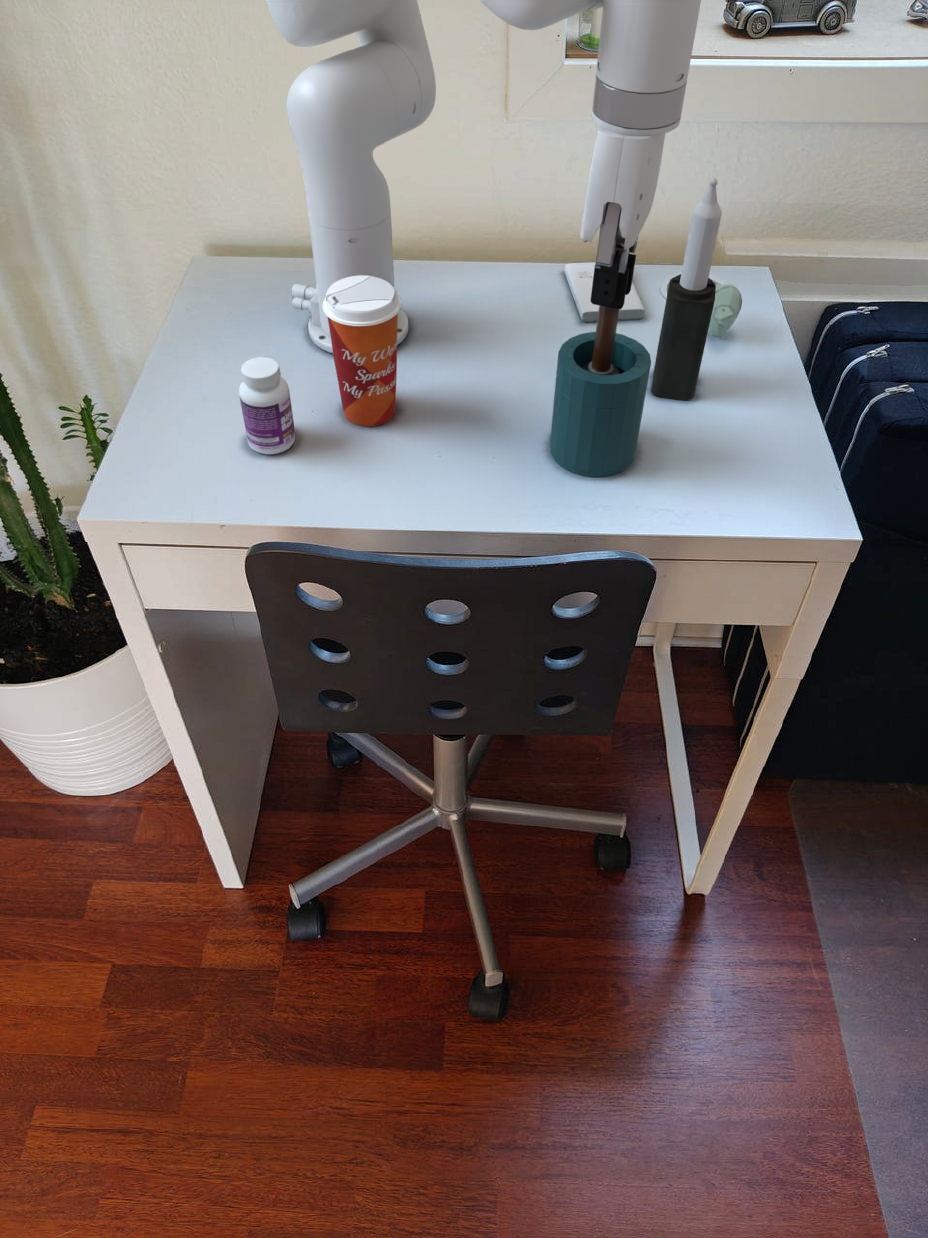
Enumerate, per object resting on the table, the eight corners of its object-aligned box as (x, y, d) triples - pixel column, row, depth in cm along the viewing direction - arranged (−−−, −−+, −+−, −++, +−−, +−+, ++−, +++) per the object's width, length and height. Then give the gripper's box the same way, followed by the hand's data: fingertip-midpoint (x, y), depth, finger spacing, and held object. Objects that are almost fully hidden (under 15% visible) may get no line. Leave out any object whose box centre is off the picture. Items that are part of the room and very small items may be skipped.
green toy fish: (695, 317, 129) (705, 269, 124) (726, 317, 130) (737, 269, 124) (707, 352, 124) (718, 303, 119) (739, 352, 124) (752, 303, 119)
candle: (693, 401, 117) (739, 191, 99) (649, 396, 118) (687, 186, 99) (695, 376, 121) (740, 169, 102) (653, 371, 121) (689, 164, 103)
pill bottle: (297, 453, 110) (286, 379, 103) (248, 458, 109) (234, 384, 102) (295, 424, 114) (284, 350, 106) (248, 428, 113) (234, 354, 106)
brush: (571, 418, 107) (591, 251, 92) (581, 397, 109) (602, 231, 95) (608, 426, 106) (634, 259, 92) (617, 405, 108) (643, 239, 94)
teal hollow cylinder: (539, 465, 109) (547, 372, 100) (563, 416, 115) (572, 324, 106) (623, 485, 107) (639, 391, 98) (643, 434, 113) (659, 341, 104)
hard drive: (581, 323, 128) (564, 273, 137) (643, 319, 129) (622, 270, 137) (582, 311, 127) (565, 262, 135) (645, 308, 128) (624, 259, 136)
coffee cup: (350, 440, 112) (339, 321, 101) (323, 401, 117) (309, 283, 105) (418, 419, 114) (414, 301, 103) (388, 382, 119) (382, 265, 108)
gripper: (617, 60, 89) (593, 252, 103) (569, 129, 79) (550, 332, 93) (700, 72, 88) (665, 266, 102) (662, 144, 78) (628, 349, 92)
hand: (610, 296), depth 97 cm, fingers closed on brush, 2 cm apart
